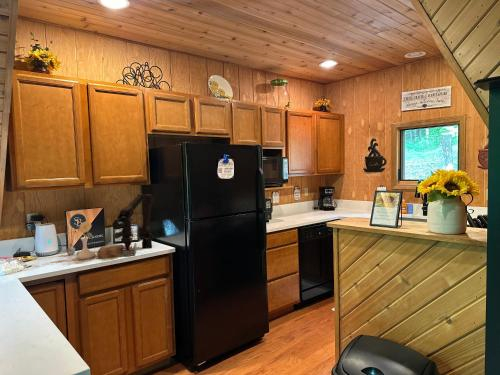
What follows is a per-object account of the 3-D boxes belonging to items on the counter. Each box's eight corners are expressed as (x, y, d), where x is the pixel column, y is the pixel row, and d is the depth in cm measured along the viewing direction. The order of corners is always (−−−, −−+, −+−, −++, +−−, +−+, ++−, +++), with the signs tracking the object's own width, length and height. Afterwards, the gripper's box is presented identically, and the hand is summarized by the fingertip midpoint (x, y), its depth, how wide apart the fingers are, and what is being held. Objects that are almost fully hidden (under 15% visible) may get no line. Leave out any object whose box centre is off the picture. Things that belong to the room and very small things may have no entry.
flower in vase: (72, 259, 226) (70, 221, 224) (87, 255, 236) (85, 219, 234) (85, 261, 219) (83, 222, 218) (100, 257, 229) (98, 220, 228)
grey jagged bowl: (136, 250, 245) (136, 243, 244) (135, 255, 231) (134, 247, 231) (116, 252, 241) (116, 244, 241) (113, 257, 228) (113, 248, 227)
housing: (123, 252, 242) (122, 244, 242) (120, 256, 229) (120, 249, 229) (102, 253, 239) (101, 246, 239) (98, 258, 226) (97, 250, 225)
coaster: (132, 246, 240) (132, 244, 240) (131, 248, 234) (131, 245, 234) (123, 247, 239) (123, 244, 238) (122, 249, 233) (122, 246, 233)
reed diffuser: (63, 256, 235) (61, 227, 233) (65, 254, 241) (64, 226, 240) (79, 255, 237) (78, 226, 236) (81, 252, 244) (80, 224, 243)
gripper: (116, 225, 243) (117, 247, 244) (112, 230, 225) (113, 253, 225) (132, 224, 245) (133, 246, 246) (130, 229, 227) (131, 252, 228)
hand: (128, 249), depth 236 cm, fingers closed on coaster, 6 cm apart
